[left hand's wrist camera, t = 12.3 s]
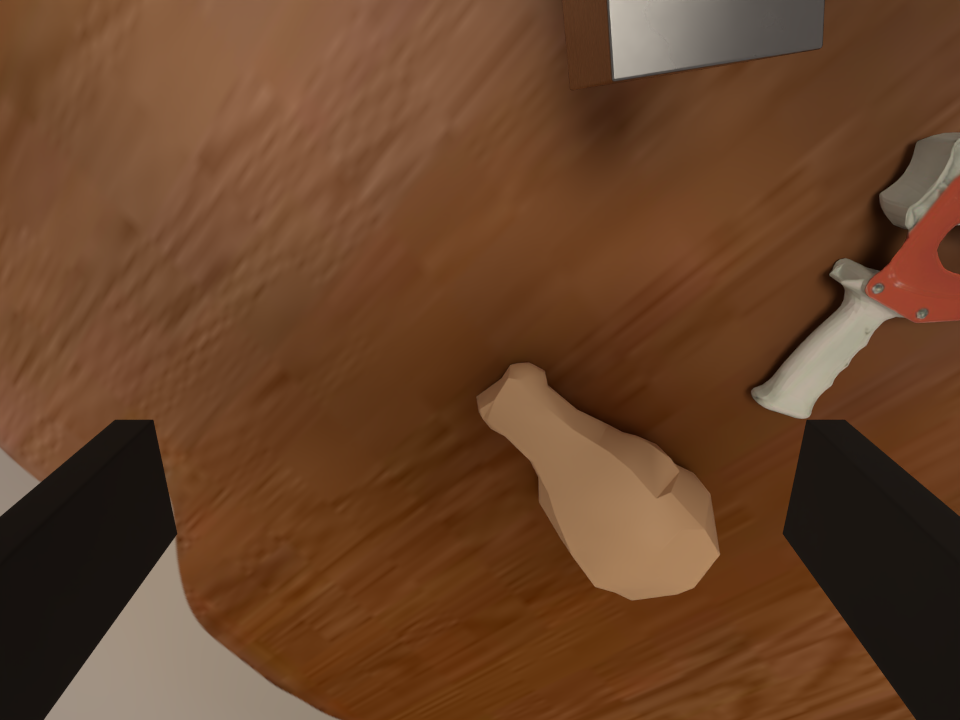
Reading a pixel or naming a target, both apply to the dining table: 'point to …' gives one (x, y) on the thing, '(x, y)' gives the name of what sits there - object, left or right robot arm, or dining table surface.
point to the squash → (606, 490)
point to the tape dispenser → (883, 280)
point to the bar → (681, 35)
